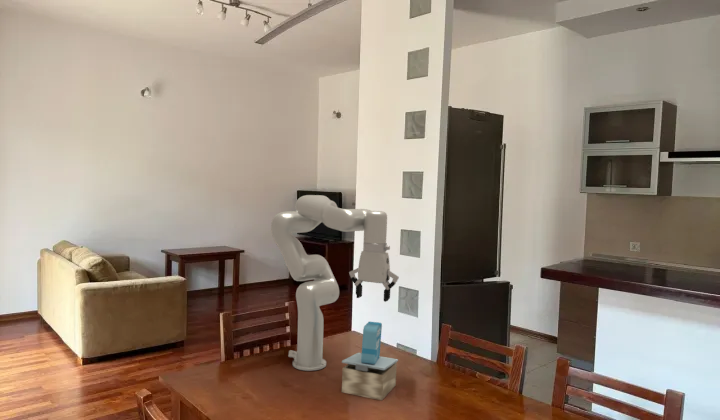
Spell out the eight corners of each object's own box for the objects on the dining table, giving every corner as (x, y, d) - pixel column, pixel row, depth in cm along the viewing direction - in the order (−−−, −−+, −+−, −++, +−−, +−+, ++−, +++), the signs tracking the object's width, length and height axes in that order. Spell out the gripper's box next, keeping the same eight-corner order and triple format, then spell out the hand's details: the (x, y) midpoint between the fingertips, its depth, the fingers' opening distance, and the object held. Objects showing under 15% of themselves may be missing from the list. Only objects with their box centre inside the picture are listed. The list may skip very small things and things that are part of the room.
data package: (374, 365, 163) (377, 328, 164) (360, 363, 164) (363, 326, 165) (379, 357, 175) (382, 322, 176) (366, 355, 176) (369, 320, 177)
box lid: (340, 366, 165) (340, 361, 165) (357, 357, 179) (358, 352, 180) (382, 374, 160) (383, 369, 160) (397, 364, 174) (398, 359, 174)
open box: (341, 392, 167) (342, 368, 166) (358, 377, 179) (358, 355, 179) (381, 400, 161) (382, 375, 161) (395, 384, 174) (396, 362, 174)
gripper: (402, 249, 169) (400, 300, 169) (355, 244, 175) (353, 293, 176) (395, 251, 162) (393, 304, 163) (346, 247, 168) (344, 298, 169)
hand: (372, 299), depth 169 cm, fingers open, 9 cm apart
